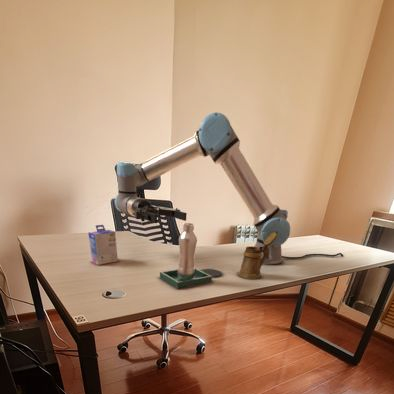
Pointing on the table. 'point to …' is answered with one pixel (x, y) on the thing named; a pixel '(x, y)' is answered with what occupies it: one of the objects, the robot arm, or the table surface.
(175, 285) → the tray
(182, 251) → the silver metal bottle
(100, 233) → the ink cartridge box
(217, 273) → the coaster
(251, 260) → the wooden mug
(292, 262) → the table surface
